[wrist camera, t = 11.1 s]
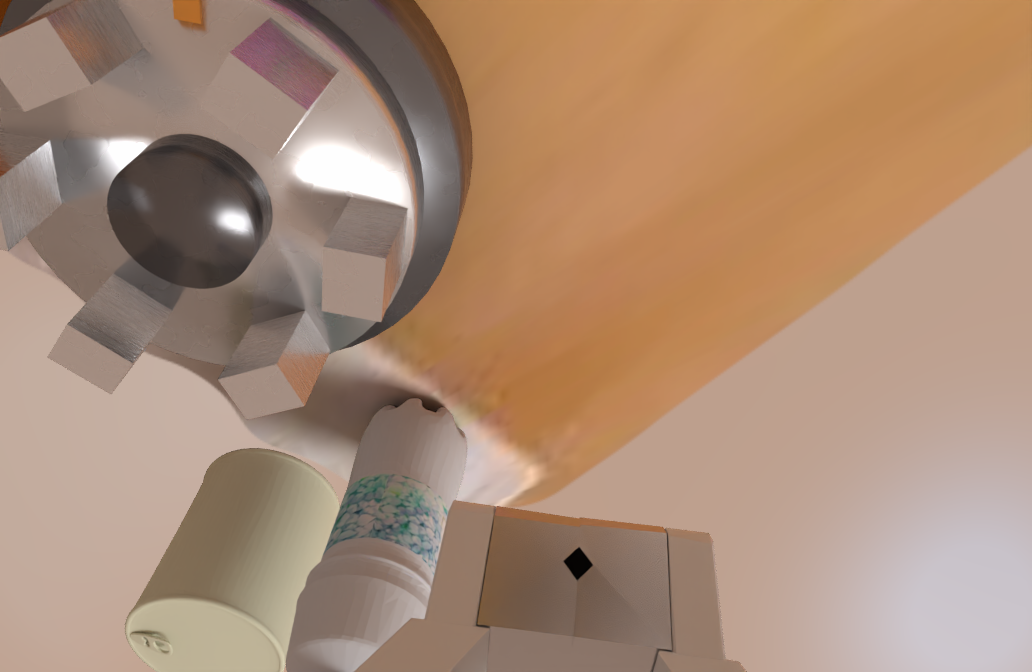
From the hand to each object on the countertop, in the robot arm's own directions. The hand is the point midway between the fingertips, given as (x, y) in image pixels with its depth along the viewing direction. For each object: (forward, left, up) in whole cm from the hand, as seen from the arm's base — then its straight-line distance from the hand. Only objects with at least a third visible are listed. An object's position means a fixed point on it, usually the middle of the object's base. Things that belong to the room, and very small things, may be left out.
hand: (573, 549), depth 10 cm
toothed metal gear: (+10, -16, -27) cm, 33 cm away
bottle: (+28, -8, -31) cm, 43 cm away
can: (+36, -18, -31) cm, 51 cm away
